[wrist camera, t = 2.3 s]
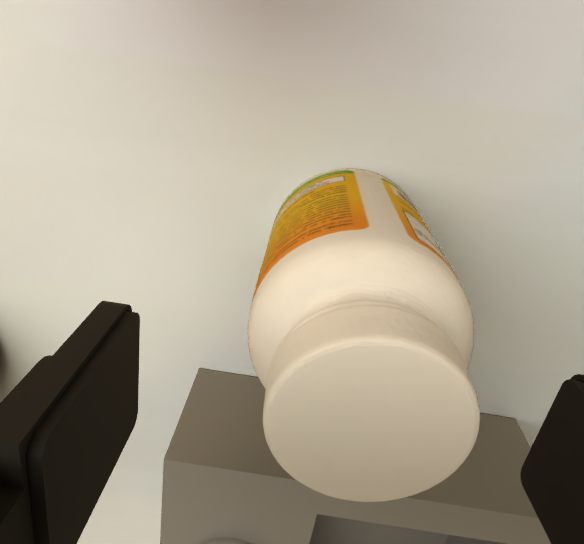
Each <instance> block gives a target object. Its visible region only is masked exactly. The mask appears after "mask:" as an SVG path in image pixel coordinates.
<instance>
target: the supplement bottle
mask: <svg viewBox="0 0 584 544" xmlns="http://www.w3.org/2000/svg"><path fill="white" fill-rule="evenodd" d="M473 343H474V325H473V317H472V312H471V308H470V305H469V301H468V299H467V297H466V294H465V292H464V290H463V288H462V286H461V284H460V282H459V280H458V278H457V276H456V275H455V273H454V271H453V270H452V268H451V267H450V265H449V263H448V262H447V260H446V259H445V257H444V255H443V254H442V252H441V250H440V248H439V247H438V245H437V243H436V241H435V240H434V238H433V237H432V235H431V234H430V232H429V230H428V229H427V227H426V226H425V224H424V222H423V220H422V219H421V217H420V216H419V214H418V212H417V210H416V209H415V207H414V206H413V204H412V203H411V201H410V200H409V198H408V197H407V196H406V195H405V194H404V193H403V192H402V190H401V189H399V188H398V187H397V186H396V185H395V184H394V183H392V182H391V181H389V180H388V179H386V178H384V177H383V176H380V175H378V174H375V173H373V172H369V171H366V170H360V169H337V170H332V171H328V172H324V173H321V174H318V175H316V176H314V177H312V178H310V179H308V180H306V181H305V182H303V183H302V184H301V185H299V186H298V187H297V188H296V189H295V190H293V192H292V193H291V194H290V195H289V196H288V197H287V198H286V200H285V201H284V203H283V204H282V206H281V208H280V210H279V212H278V214H277V216H276V219H275V221H274V224H273V227H272V231H271V235H270V238H269V242H268V246H267V250H266V253H265V257H264V261H263V264H262V267H261V270H260V274H259V277H258V281H257V284H256V289H255V292H254V296H253V300H252V305H251V310H250V316H249V323H248V345H249V352H250V355H251V359H252V363H253V366H254V369H255V371H256V374H257V376H258V378H259V379H260V381H261V383H262V384H263V386H264V387H265V389H266V391H265V399H264V408H263V428H264V434H265V438H266V441H267V444H268V446H269V448H270V451H271V453H272V454H273V456H274V458H275V459H276V460H277V462H278V463H279V464H280V465H281V467H282V468H283V469H284V470H285V471H286V472H287V473H288V474H290V475H291V476H292V477H293V478H294V479H296V480H297V481H299V482H300V483H302V484H304V485H305V486H307V487H309V488H311V489H313V490H315V491H317V492H319V493H322V494H324V495H327V496H331V497H334V498H338V499H343V500H350V501H359V502H381V501H389V500H395V499H401V498H404V497H408V496H412V495H415V494H418V493H420V492H423V491H425V490H428V489H430V488H432V487H433V486H435V485H437V484H439V483H440V482H442V481H443V480H445V479H446V478H447V477H449V476H450V475H451V474H453V473H454V472H455V471H456V470H457V469H458V468H459V466H460V465H461V464H463V462H464V461H465V459H466V458H467V457H468V455H469V454H470V452H471V450H472V448H473V446H474V444H475V441H476V439H477V435H478V432H479V423H480V409H479V403H478V398H477V395H476V392H475V390H474V387H473V385H472V382H471V380H470V377H469V375H468V372H467V368H468V365H469V362H470V359H471V355H472V351H473Z"/></svg>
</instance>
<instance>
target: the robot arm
mask: <svg viewBox="0 0 584 544" xmlns="http://www.w3.org/2000/svg"><path fill="white" fill-rule="evenodd" d="M139 329H140V317H139V314H138V313H135V312H132V309H131V306H130V305H127V304H120V303H114V302H108V301H102V302H101V303H99V304H98V306H97V307H96V308H95V309H94V310H93V311H92V312H91V313H90V315H89V316H88V317H87V318H86V319H85V320H84V321H83V322H82V323H81V325H80V326H79V327H78V328H77V329H76V330H75V331H74V332H73V334H72V335H71V336H70V337H69V338H68V339H67V340H66V341H65V342H64V344H63V345H62V346H61V347H60V348H59V349H58V350H57V351H56V353H55V354H54V355H53V356H50V355H49V356H46V357H44V358H42V359H41V360H40V361H39V362H38V363H37V364H36V365H35V366H34V367H33V368H32V369H31V371H30V372H29V373H28V374H27V375H26V376H25V377H24V378H23V379H22V380H21V381H20V382H19V384H18V385H17V386H16V387H15V388H14V389H13V390H12V391H11V392H10V393H9V394H8V395H7V397H6V398H5V399H4V400H3V401H2V402H1V403H0V544H77V542H78V540H79V538H80V535H81V533H82V531H83V529H84V527H85V525H86V523H87V521H88V519H89V517H90V515H91V513H92V511H93V509H94V507H95V505H96V503H97V501H98V499H99V497H100V495H101V493H102V491H103V489H104V487H105V485H106V483H107V481H108V479H109V477H110V475H111V473H112V471H113V469H114V467H115V465H116V463H117V461H118V458H119V456H120V454H121V452H122V450H123V448H124V446H125V444H126V442H127V440H128V438H129V436H130V434H131V432H132V430H133V428H134V426H135V422H136V419H137V413H138V377H139ZM520 479H521V483H522V486H523V488H524V490H525V492H526V494H527V496H528V498H529V500H530V502H531V504H532V506H533V508H534V510H535V512H536V514H537V516H538V518H539V520H540V522H541V524H542V526H543V528H544V530H545V532H546V534H547V536H548V538H549V540H550V542H551V544H584V375H580V374H578V375H574V376H573V377H572V378H571V379H569V380H566V381H565V382H564V383H563V384H562V386H561V388H560V390H559V392H558V394H557V396H556V398H555V400H554V402H553V404H552V406H551V408H550V410H549V412H548V414H547V416H546V419H545V421H544V423H543V425H542V427H541V429H540V431H539V433H538V435H537V437H536V439H535V441H534V443H533V445H532V447H531V449H530V451H529V453H528V455H527V457H526V460H525V462H524V464H523V466H522V468H521V473H520Z"/></svg>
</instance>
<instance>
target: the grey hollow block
mask: <svg viewBox="0 0 584 544" xmlns="http://www.w3.org/2000/svg"><path fill="white" fill-rule="evenodd" d="M265 391H266V389H265V387H264V386H263V384H262V383H261V381H260V379H259V378H258V377H251V376H245V375H239V374H233V373H226V372H220V371H214V370H208V369H201V368H199V370H198V373H197V375H196V378H195V380H194V383H193V386H192V388H191V391H190V393H189V396H188V399H187V401H186V404H185V406H184V409H183V411H182V414H181V417H180V419H179V422H178V424H177V427H176V430H175V432H174V435H173V437H172V440H171V442H170V445H169V448H168V450H167V453H166V455H165V458H164V469H163V492H162V514H161V537H160V544H551V542H550V540H549V538H548V536H547V534H546V532H545V530H544V528H543V526H542V524H541V522H540V520H539V518H538V516H537V514H536V512H535V510H534V508H533V506H532V504H531V502H530V500H529V498H528V496H527V494H526V492H525V490H524V488H523V486H522V483H521V479H520V473H521V468H522V466H523V464H524V462H525V460H526V457H527V455H528V453H529V451H530V449H531V448H530V446H529V444H528V442H527V440H526V438H525V436H524V435H523V433H522V431H521V429H520V427H519V425H518V423H517V421H516V419H514V418H508V417H502V416H495V415H489V414H483V413H480V423H479V432H478V435H477V439H476V441H475V444H474V446H473V448H472V450H471V452H470V454H469V455H468V457H467V458H466V459H465V461H464V462H463V464H461V465H460V466H459V468H458V469H457V470H456V471H455V472H454V473H453V474H451V475H450V476H449V477H447V478H446V479H445V480H443V481H442V482H440V483H439V484H437V485H435V486H433V487H432V488H430V489H428V490H425V491H423V492H420V493H418V494H415V495H412V496H408V497H404V498H401V499H395V500H389V501H381V502H359V501H350V500H343V499H338V498H334V497H331V496H327V495H324V494H322V493H319V492H317V491H315V490H313V489H311V488H309V487H307V486H305V485H304V484H302V483H300V482H299V481H297V480H296V479H294V478H293V477H292V476H291V475H290V474H288V473H287V472H286V471H285V470H284V469H283V468H282V467H281V465H280V464H279V463H278V462H277V460H276V459H275V458H274V456H273V454H272V453H271V451H270V448H269V446H268V444H267V441H266V438H265V434H264V428H263V408H264V399H265Z"/></svg>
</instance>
